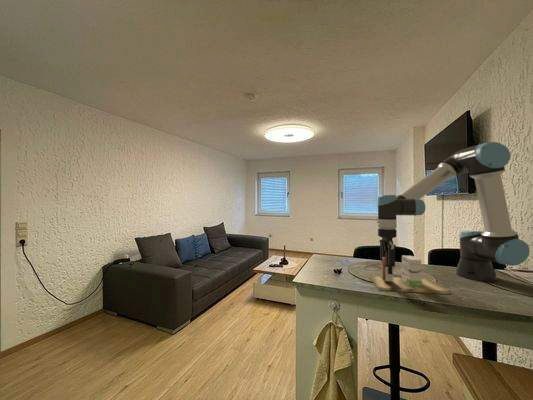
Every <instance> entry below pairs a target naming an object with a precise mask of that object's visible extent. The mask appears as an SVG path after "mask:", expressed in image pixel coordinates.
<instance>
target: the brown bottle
mask: <svg viewBox="0 0 533 400" xmlns="http://www.w3.org/2000/svg"><path fill="white" fill-rule="evenodd" d="M382 265H383V280H385V281H386V267H385V265H387V264H386V253H385V257H382V260H381V266H382Z"/></svg>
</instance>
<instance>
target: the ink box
mask: <svg viewBox="0 0 533 400" xmlns="http://www.w3.org/2000/svg"><path fill="white" fill-rule="evenodd" d="M422 277H423V276H422V260H421V259H419V258H417V257H415V256H413V255H404V254H403V255H401V278H402V280H403V281H404V282H405V283H407V284H408V285H409V286H415V287H422V279H423V278H422Z"/></svg>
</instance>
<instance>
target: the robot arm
mask: <svg viewBox="0 0 533 400" xmlns="http://www.w3.org/2000/svg"><path fill="white" fill-rule="evenodd" d="M511 155H512V154H511V152H510V150H509V148H508V146H507V145H505V144H502V143H501V142H497V141H488V142H481V143H480V144H477V145H472V146H470V147H466V148H462V149H460V150H457V151H456V152H454V153H452V155H449V157H447V158H446V159H444V160H443V161H441V162H440V163H439V164H438V166H437V168H435V169H434V170H433V171H431V172H430V173H428V174H426V175H425V176H423V177H422V178H421V179H419V180H418V181H417V182H415V183H414V184H413V185H411V186H410V187H408V188H406V189H405V190H403V191H402V192H401V193H399V194H398V195H396V194H380V195H379V196H378V198H377V221H376V223H377V227H378V228H377V236H378V237H380V238H381V239H379V256H380V257H379V258H380V261H382V257H385V253H386V264H387V265H385V267H386V281H393V277H394V275H393V273H394V270H393V269H394V267H395V266H396V247H397V245H396V244H394V241H393V239H394V238H397V227H398V226H397V222H398V221H397V216H414V217H416V216H422V215H424V213H426V204H425V203H426V202H424V200H422V198H423V197H424V196H426V195H427V194H429V193H430V192H433V191H434V190H435V189H436V188H438V187H440V186H441V185H442V184H444V183H446V182H447V181H448V180H450V179H451V180H452V179H455V178H457V177H458V176H460V175H462V174H466V173H468V176H469V177H470V178H472V179H474V184H475V187H476V193H477V197H478V202H479V203H478V204H479V209H480V213H481V217H482V223H483V228H484V230H483V231H481V230H480V231H478V230H477V231H474V230H469V231H468V230H465V231H464V230H463V231H461V232H460V234H459V254H460V255H459V256H460V257H459V262H458V263H457V267H456V268H455V274H456V275H457V276H459V277H462V278H466V279H469V280H475V281H478V282H479V281H480V282H496V281H497V278H498V276H497V274H496V271H495V268H494V265H493V264H492V262H495V263H498V264H499V265H500V264H501V265H506V266H514V267H515V266H519V265H522V264H523V263H524V262H526V260H527V259H528V258H529V256H530V253H531V251H530V246H529V245H528V243H527V242H525V240H522V239H520V237H519V234H518V231H516V230H514V229H513V228H512V223H511V218H510V213H509V209H508V204H507V199H506V198H507V197H506V194H505V189H504V183H503V179H502V178H503V177H502V174H504V173H505V171H506V169H505V166H507V165H508V164H509V161H510V160H511ZM381 274H382V275H381V277H383V265H382V264H381Z"/></svg>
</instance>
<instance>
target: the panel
mask: <svg viewBox="0 0 533 400" xmlns="http://www.w3.org/2000/svg"><path fill="white" fill-rule="evenodd" d="M368 279H369V281H370V282H372V284H373V286H375V288H376V289H377V290H378V291H390V292H392V291H393V292H409V293H410V292H413V293H427V294H428V293H429V294H446V295H447V294H448V295H451V290H450V289H448V288H446V287H445V286H444V285H442V284H440V283H439V282H437V281H435V280H433V279H432V278H422V287H415V286H409V285H408V284H407V283H405V282H404V281H403V280H402V277H394V276H393V281H385V280H383V277H382V276H372V275H369V276H368Z"/></svg>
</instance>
